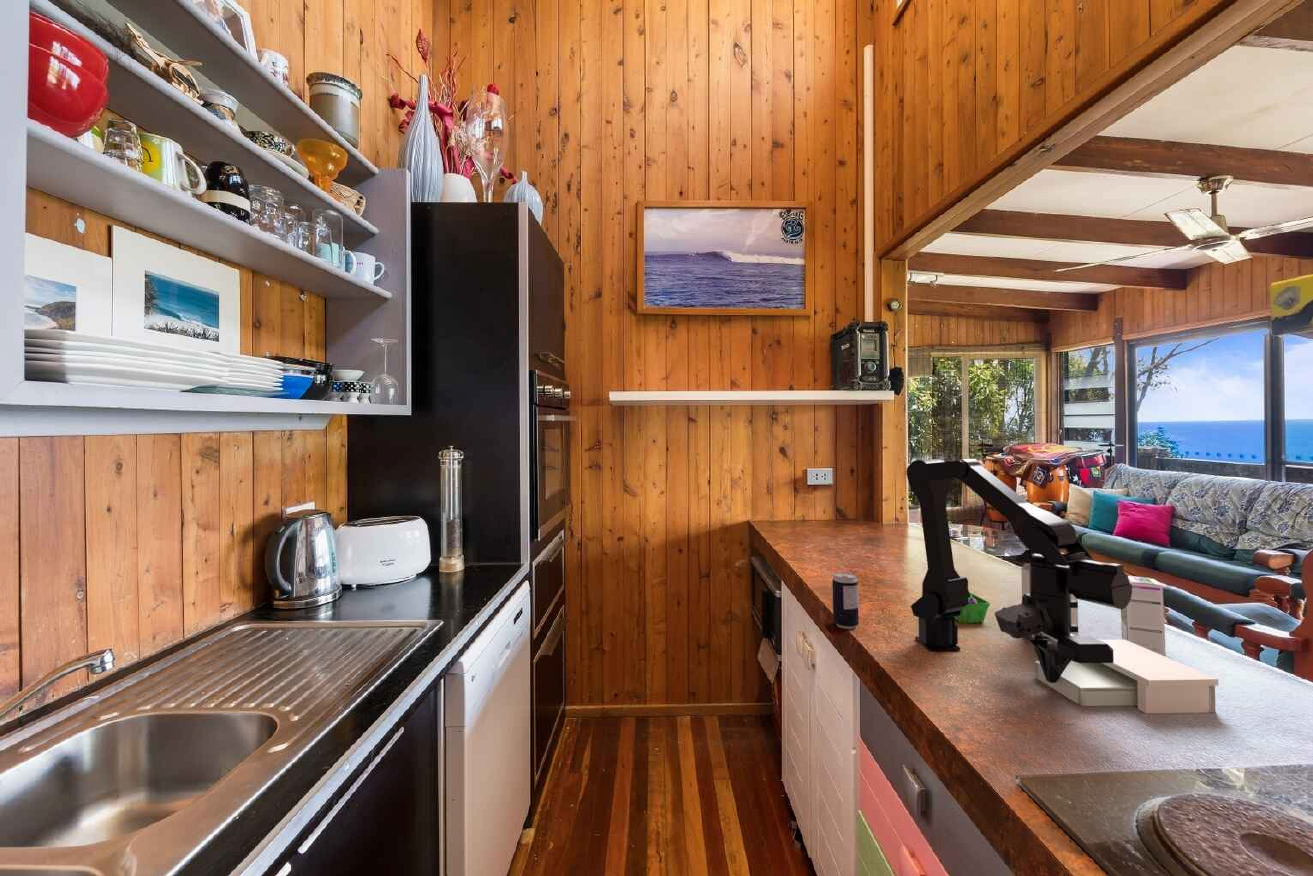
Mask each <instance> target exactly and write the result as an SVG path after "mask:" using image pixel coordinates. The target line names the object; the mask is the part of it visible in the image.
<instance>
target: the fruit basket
mask: <svg viewBox="0 0 1313 876" xmlns="http://www.w3.org/2000/svg"><path fill="white" fill-rule="evenodd" d="M969 593H970V595H971V597H970V598H968V605H967V606H966V607H965V608H964V609H962V612H961V614H960V616H955V617H954V618H957V619H958V620H957V619H956V620H957V621H959V622H960V623H961V622H962V624H967V623H966V622H969V623H968V624H973V623H972V622H978V623H979V622H983V623H984V621H985V618H986V615H987V612H988V609H989V607H990V606H991V602H990V601H987V600H986V599H983V598H982V597H979V596H978V595H976V594H974V593H971V592H970V591H969Z"/></svg>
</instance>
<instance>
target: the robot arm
mask: <svg viewBox="0 0 1313 876" xmlns="http://www.w3.org/2000/svg"><path fill="white" fill-rule="evenodd" d="M906 478H907V481H908V485H909V488H910V491H911V492H912V493H913V495H914V496H915V497H916V498H917V500H918V503H919V508H920V509H919V510H920V516H921V517H920V518H921V525H922V532H923V540H924V542H923V543H924V548H925V555H926V563H927V564H926V565H927V570H926V573H925V576H924V578H923V581H922V583H921V587H922V588H921V596H920V598H919V599H917V600H916V601H914V602H913V603H912V604H911V605H910V608H911V612H912V614H913V617H916V618H918V636H915V637H914V640H915V641H917V642H918V643H920V644H921V645H922V646H923V647H925V648H926V649H927V650H928V651H931V652H932V651H933V652H935V651H936V652H938V651H939V652H940V651H942V652H943V651H961V647H960V646H959V645H958V644H959V643H958V642H959V638H958V634H959V633H958V632H959V631H958V630H959V629H958V624H957V623H956V619H955V618H954V617H955V616H960V614H961V612H962V609H964V608H965V607H966V606H967V605H968V598H970V597H971V595H970V593H971V592H970V590H969V580H968V578H967V577H966V576H965V577H964V576H963V577H961V576H960V574H959V573H958V572H957V570H956V569H955V563H954V558H953V557H954V555H953V548H952V542H951V533H950V527H949V519H948V511H947V505H946V501H947V497H948V494H949V493H950V492H949V491H950V489H951V487H952V486H951V485H952V484H951V482H952V480H956V479H958V480H959V481H961V482H962V483H963V485H965V486H967V488H969V489H970V490H971V491H972V492H974V493H975V494H976V495H977V496H978V497H980V499H982V500H983V501H984V502H985V503H986V504H988V505H989V506H990V507H992V509H994V510H995V511H996V512H997V513H998V514H999V515H1001V517H1004V518H1005V520H1006V521H1007V522H1008V523H1009V524H1010V527H1011V529H1012V532H1013V533H1014V535H1015V536H1016V537H1017V539H1018V540H1019V541H1020V542H1021V544H1023V545H1024V546H1025V547H1026V549H1024V551H1023V552H1022V553H1020V554H1019V555H1018V556H1016V557H1015V561H1016V562H1021V563H1024V564H1025V563H1029V588H1030V589H1029V591H1030V594H1024V596H1022V595H1021V603H1019V604H1015V605H1010V606H1004V607H1003V608H1001V609H999V610H998V611H995V612H994V616H995V619H996V621H997V624H998V627H999V630H1000V632H1002V633H1006V634H1007V635H1009V636H1010V637H1011V638H1013V639H1018V640H1019V639H1023V640H1024V641H1027V643H1028V644H1029V645H1031V646H1032V647H1033V649H1034V652H1035V654H1036V656H1037V660H1038V661H1039V662H1040V665H1041V667H1042V670H1043V673H1044V675H1045V678H1046V680H1047V681H1048V682H1050V683H1056V682H1057V680H1058V679H1059V677H1060V676H1061V674H1062V673H1063V671H1064V670H1065V668H1066V667H1067V666H1068V664H1069V663H1070V662H1071V660H1072V661H1074V662H1078V663H1113V662H1114V651H1113V649H1112V648H1111V647H1110V646H1109V645H1108V644H1107V643H1104V642H1102V641H1100V640H1101V639H1098V638H1095V637H1093V636H1091V635H1078V636H1074V635H1072V634H1070V632H1078V633H1079V625H1078V626H1076V625H1074V624H1072V623H1071V608H1078V609H1079V602H1076V601H1074V600H1071V594H1072V595H1074V596H1075V598H1077V599H1078V600H1080V601H1084V602H1088V603H1092V604H1096V605H1100V606H1105V607H1108V608H1114V609H1118V610H1121V609H1124V608H1126V607H1127V605H1128V604H1129V602H1130V599H1131V595H1132V585H1131V584H1130V581H1129V578H1128V576H1129V575H1128V574H1126V573H1125V572H1124V565H1123V564H1120V563H1114V562H1113V563H1112V562H1103V561H1102V562H1101V561H1097V560H1096V561H1095V560H1094V558H1093V556H1092V555H1091V554H1090V552H1089V551H1088V550H1087V549H1086V547H1085V546H1084V544H1083V543H1082V542H1081V541H1080V539H1079V538H1078V536H1077V534H1076V533H1077V531H1076V529H1075V527H1074V526H1073V525H1072V524H1071V523H1070V522H1069V521H1067V520H1065V519H1063V518H1061V517H1060V516H1057V515H1056V514H1054V513H1053V512H1051V511H1048V510H1045V509H1042V508H1040V507H1038V506H1035V505H1034V504H1032V503H1030V502H1028V501H1027V500H1026V499H1025V498H1023V497H1022V496H1021V495H1019V494H1018V493H1017V492H1016V491H1015V490H1014V489H1012V488H1011V487H1009V486H1008V485H1007V484H1005V483H1004V482H1003V481H1001V480H1000V479H999V478H998V477H997V476H995V475H994V474H993V473H991V472H990V471H989V470H988V469H986V468H985V467H984V466H982V464H981V463H980V462H979V460H977V459H975V458H959V459H955V460H949V461H944V460H942V459H938V458H933V459H929V458H927V459H916V460H913V461H911V462H910V463H909V465H908V466H907V467H906ZM1063 552H1067V553H1063ZM969 592H970V593H969Z"/></svg>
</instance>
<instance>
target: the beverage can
mask: <svg viewBox="0 0 1313 876" xmlns="http://www.w3.org/2000/svg"><path fill="white" fill-rule="evenodd" d="M833 575H834V576H833V577H832V580H831V581H832V583H831V584H832V621H833V623H834V624H835V625H836V626H837V627H838V628H840V629H845V630H851V629H855V628H856V626H858V625H859V624H860V623H859V621H860V620H859V619H860V617H859V580H858V579H857V576H856V574H854V573H850V572H844V571H843V572H841V571H840V572H836V573H834V574H833Z"/></svg>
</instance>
